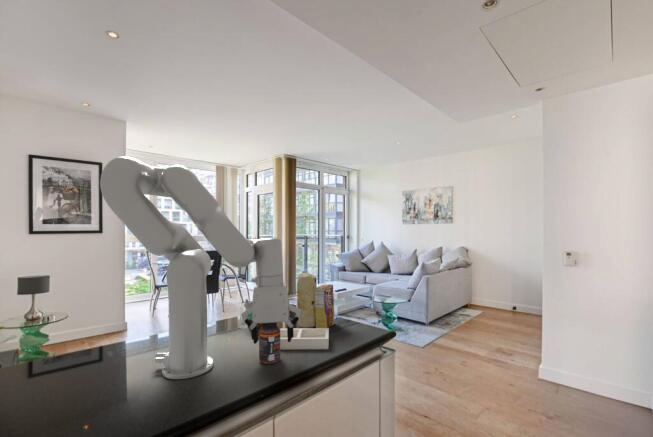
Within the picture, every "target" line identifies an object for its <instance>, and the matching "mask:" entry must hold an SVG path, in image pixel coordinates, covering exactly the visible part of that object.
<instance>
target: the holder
mask: <svg viewBox="0 0 653 437" xmlns="http://www.w3.org/2000/svg"><path fill="white" fill-rule="evenodd" d="M329 331H330V327H329V328H316V327H315V328H314V327H308V328H303V327H299V328H298V327H297V328H294V327H293V333H294V337H293V338H292V339H291V342H288V336H287V328H280V350H329V345H330V344H329V342H330V340H329V339H330V334H329V333H330V332H329Z"/></svg>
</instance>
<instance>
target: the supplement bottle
mask: <svg viewBox="0 0 653 437" xmlns="http://www.w3.org/2000/svg"><path fill="white" fill-rule="evenodd" d="M262 325H263V327H262V328H261V329H260V330H258V335H259V340H258V346H259V347H258V358H259V359H258V361H259V362H260V363H261V364H264V365H272V364H276V363H278V362H279V361H280V360H281V349H280V329H281V328H280V327H279V326H278V323H263V324H262Z"/></svg>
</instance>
